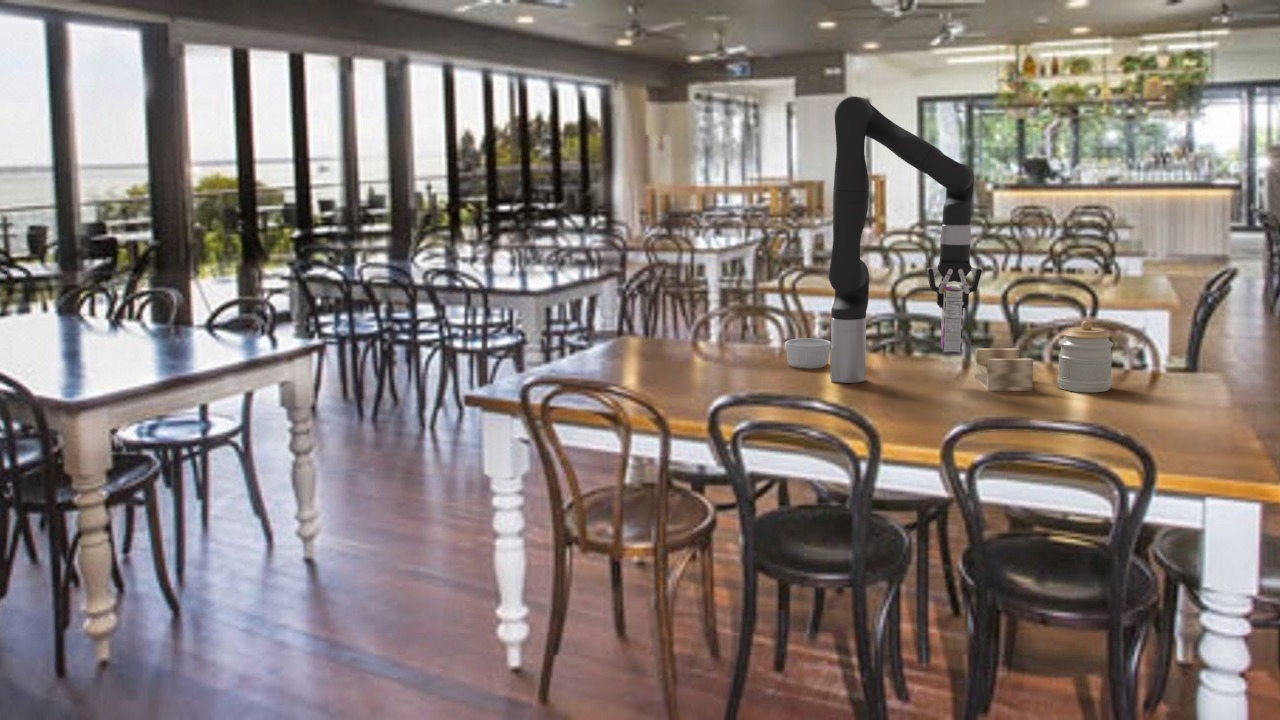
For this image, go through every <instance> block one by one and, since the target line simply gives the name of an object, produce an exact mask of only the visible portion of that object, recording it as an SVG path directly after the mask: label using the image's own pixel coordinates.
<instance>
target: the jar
mask: <svg viewBox="0 0 1280 720" xmlns="http://www.w3.org/2000/svg"><path fill="white" fill-rule="evenodd" d="M1062 335H1063V336H1064V337H1063V339H1061V340H1059V342H1058V344H1059V346H1060V352H1059V354H1058V355H1057V356H1058V370H1057V371H1058V375H1057V378H1056V381H1057V386H1058V388H1059V389H1061V390H1063V391H1064V390H1065V391H1070V392H1076V393H1102V392H1103V393H1104V392H1107V391H1109V390H1110V389H1111V385H1112V376H1111V375H1112V363H1113V361H1112V360H1113V355H1112V353H1111V352H1112V351H1111V348H1112V347H1113V346H1114V343H1113V342H1112V341H1110V339H1109V337H1111V334H1110V333H1109V332H1107V331H1105V329H1103V328H1099V327H1093V323H1092V321H1090V320H1083V321H1082V322H1081V325H1080V326H1078V327H1077V326H1076V327H1070V328H1068V330H1065V331H1064V332H1062Z"/></svg>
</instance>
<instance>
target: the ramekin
mask: <svg viewBox="0 0 1280 720" xmlns="http://www.w3.org/2000/svg"><path fill="white" fill-rule="evenodd" d="M784 345H785V349H786V350H785V351H786V359H787V363H788V364H789V366H791V367H793V368H798V369H819V368H823V367H826V365H828V362H829V359H830V358H829V357H830V345H831V341H830V340H827V339H821V338H794V339H789V340H786V341H785V344H784Z"/></svg>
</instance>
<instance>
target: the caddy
mask: <svg viewBox="0 0 1280 720" xmlns="http://www.w3.org/2000/svg"><path fill="white" fill-rule="evenodd" d="M974 363H975V366H974V367H975V369H974V372H975V373H974V379H976V380H977V381H978V382H979V383H980V384H981V385H982V386H983V387H984V388H985V389H986V391H988V392H990V391H991V392H997V391H998V392H1001V391H1002V392H1003V391H1004V392H1010V391H1011V392H1017V391H1018V392H1022V391H1023V392H1024V391H1025V392H1028V391H1030V392H1031V391H1033V381H1034V380H1033V377H1034V376H1033V375H1034V359H1033V358H1020V348H1017V347H1016V348H1014V347H1013V348H1012V347H1011V348H1008V347H1007V348H1006V347H1005V348H1001V347H1000V348H990V347H989V348H980V347H979V348H975V362H974Z"/></svg>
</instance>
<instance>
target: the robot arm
mask: <svg viewBox="0 0 1280 720" xmlns="http://www.w3.org/2000/svg"><path fill="white" fill-rule="evenodd" d="M834 128H835V129H834V130H835V131H834V132H835V146H836V152H835V153H836V155H835V162H834V163H835V165H834V174H833V175H834V176H833V177H834V179H833V193H832V194H833V197H832V234H833V235H832V237H833V238H832V239H833V240H832V249H831V257H830V264H829V269H828V280H829V283H830V285H831V288H832V289H833V290H834V300H833V304H832V306H831V318H830V319H831V321H830V322H831V328H830V330H831V331H830V340H831V341H830V342H831V345H830V351H829V357H830V358H829V359H830V360H829V363H830V365H829V375H830V376H829V378H830V381H831V382H832V383H842V384H855V383H857V384H858V383H862V382H865V381H866V354H867V353H866V350H867V348H866V346H867V341H866V340H867V336H866V335H867V311H868V305H869V296H870V295H869V291H870V288H869V287H870V286H869V285H870V272H869V267H868V266H867V264H866V263H865V261H863V260H862V259H861V239H862V236H863V235H862V234H863V232H864V228H865V224H866V220H867V216H868V210H869V194H870V182H869V181H870V180H869V174H868V167H867V163H866V156H865V147H866V146H865V145H866V144H865V142H866V137H867V138H870V139H872V140H874V141H875V142H878V143H879V144H881V145H882V146H884V147H885V148H887V149H888V150H889V151H890V152H892V153H893V154H895V156H897V157H898V158H900V159H901V160H902V161H904V162H905V163H907V164H908V165H909V166H912V167H913V168H915V169H916V170H918V171H920V172H921V173H923V174H925V175H928V177H930V178H932V180H934V181H935V182H936V183H938V184H939V185H941V186H942V187H944V188H945V202H944V204H943V208H942V222H941V223H942V225H941V230H940V238H939V242H940V243H939V247H940V248H939V263H938V264H937V266H935V267H927V268H926V273H927V277H928V284H929V288H930V290H931V291H932V292H934V293H936V304H937V306H938V308H939V309H942V308H943V299H944V294H943V291H944V288H945V287H946V285H947V284H948V282H949V283H952V282H956V283H959V285H961V286H962V288H963V290H964V301H963V309H966V308H967V307H968V306H969V301H970V300H969V299H970V293H974V292H977V291H978V290H977V289H978V286H979V283H980V280H981V275H982V272H983V270H982V269H981V268H980V267H972V265H971V263H970V262H971V260H970V259H971V246H972V245H971V243H972V230H971V222H972V221H971V217H972V215H971V214H972V199H973V193H974V184H975V182H974V181H975V175H974V174H975V173H974V172H973V169H972V168H971V166H969V165H968V164H966V163H961V162H958V161H956V160H955V159H953V158H952V157H949V156H947V155H946V154H944V152H943V151H942V150H940V149H939V148H938V147H936V146H934V145H933V144H931V143H930V142H928V141H926V140H925V139H923V138H921V137H919V136H918V135H916V134H913V133H912V132H910V131H908V130H907V129H905V128H903V127H901V126H900V125H898V124H896V123H895V122H894V121H892V120H891V119H889V118H887V116H885V115H884V114H882V113H881V112H880V111H879V110H878V109H877V108H876V107H875V106H874V105H873V104H872V103H871V102H870V101H868V99H866V98H864V97H860V96H857V95H856V96H855V95H854V96H853V95H849V96H846V97H845V98H843V99H841V100H840V101H839V102H838V104H837V105H836V107H835V111H834ZM937 272H938V273H939V274H940V275H941V278H940V281H939V284H938V286H937V285H936V281H935V280H936V279H935V276H936V275H937ZM970 272H971V276H972V280H971V284H970V286H969V285H968V282H967V278H966V277H967V276H968V275H969V273H970Z"/></svg>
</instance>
